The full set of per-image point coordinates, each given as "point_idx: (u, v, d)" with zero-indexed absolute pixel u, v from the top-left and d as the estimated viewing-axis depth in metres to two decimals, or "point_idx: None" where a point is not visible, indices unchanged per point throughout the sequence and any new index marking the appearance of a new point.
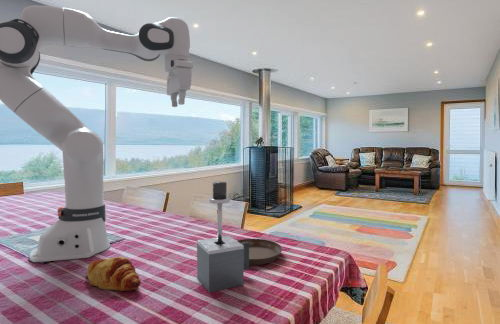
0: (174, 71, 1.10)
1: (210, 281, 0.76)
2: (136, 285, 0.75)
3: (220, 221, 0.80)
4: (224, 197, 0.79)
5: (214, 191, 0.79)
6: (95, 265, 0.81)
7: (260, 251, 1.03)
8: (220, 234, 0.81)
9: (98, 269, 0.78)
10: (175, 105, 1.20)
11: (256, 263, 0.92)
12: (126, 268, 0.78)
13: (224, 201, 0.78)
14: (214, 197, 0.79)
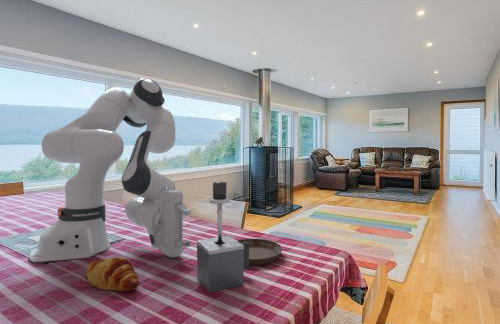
0: None
1: (210, 281, 0.76)
2: (134, 286, 0.75)
3: (220, 221, 0.80)
4: (224, 197, 0.79)
5: (214, 191, 0.79)
6: (94, 265, 0.81)
7: (260, 251, 1.03)
8: (220, 234, 0.81)
9: (97, 269, 0.77)
10: None
11: (256, 263, 0.92)
12: (125, 268, 0.78)
13: (224, 201, 0.78)
14: (214, 197, 0.79)
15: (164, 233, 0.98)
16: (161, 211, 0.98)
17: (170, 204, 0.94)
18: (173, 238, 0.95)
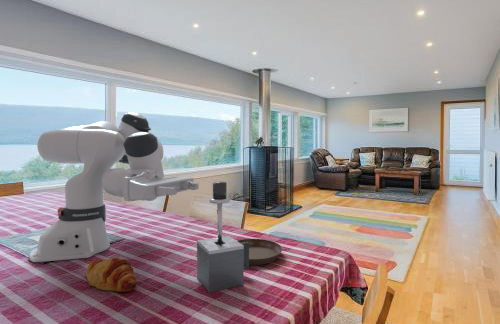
0: None
1: (210, 281, 0.76)
2: (132, 286, 0.74)
3: (220, 221, 0.80)
4: (224, 197, 0.79)
5: (214, 191, 0.79)
6: (94, 265, 0.81)
7: (260, 251, 1.03)
8: (220, 234, 0.81)
9: (96, 269, 0.77)
10: (194, 186, 0.90)
11: (256, 263, 0.92)
12: (123, 269, 0.78)
13: (224, 201, 0.78)
14: (214, 197, 0.79)
15: (150, 182, 0.87)
16: (164, 178, 0.93)
17: (183, 178, 0.94)
18: (162, 183, 0.85)
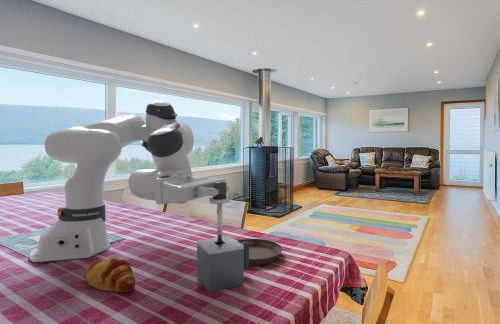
0: None
1: (210, 281, 0.76)
2: (130, 287, 0.74)
3: (220, 221, 0.80)
4: (224, 197, 0.79)
5: None
6: (93, 265, 0.81)
7: (260, 251, 1.03)
8: (220, 234, 0.81)
9: (94, 270, 0.77)
10: None
11: (256, 263, 0.92)
12: (122, 269, 0.78)
13: (224, 201, 0.78)
14: (214, 197, 0.79)
15: (183, 183, 0.81)
16: (195, 179, 0.87)
17: (216, 179, 0.88)
18: (197, 184, 0.79)
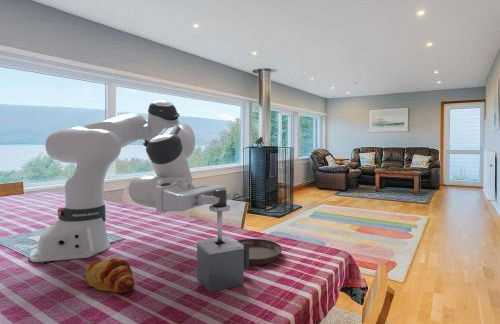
0: None
1: (210, 281, 0.76)
2: (129, 287, 0.74)
3: (220, 229, 0.80)
4: (224, 205, 0.79)
5: None
6: (93, 265, 0.81)
7: (260, 251, 1.03)
8: (220, 242, 0.81)
9: (94, 270, 0.77)
10: None
11: (256, 263, 0.92)
12: (121, 270, 0.78)
13: (224, 209, 0.78)
14: (214, 205, 0.79)
15: (183, 191, 0.81)
16: (196, 186, 0.88)
17: (216, 186, 0.88)
18: (197, 192, 0.79)
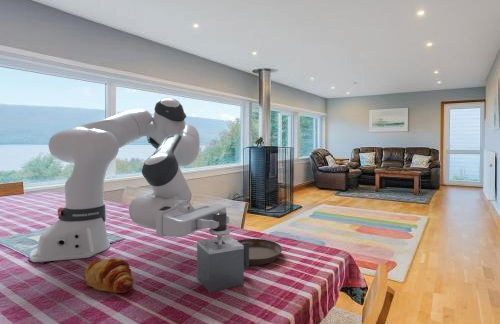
0: None
1: (210, 281, 0.76)
2: (127, 288, 0.74)
3: None
4: (224, 228, 0.80)
5: None
6: (92, 265, 0.81)
7: (260, 251, 1.03)
8: None
9: (93, 270, 0.77)
10: None
11: (256, 263, 0.92)
12: (120, 270, 0.77)
13: (224, 233, 0.79)
14: None
15: (183, 215, 0.82)
16: (195, 208, 0.88)
17: (216, 208, 0.89)
18: (197, 216, 0.79)
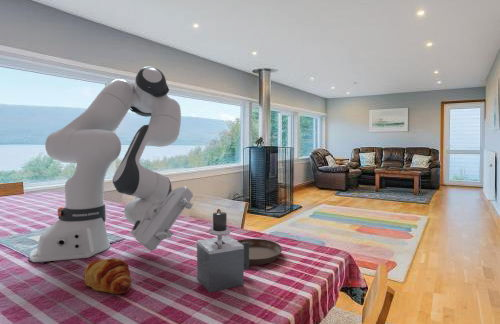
0: None
1: (210, 281, 0.76)
2: (125, 289, 0.73)
3: None
4: (224, 228, 0.80)
5: (214, 222, 0.80)
6: (91, 265, 0.81)
7: (260, 251, 1.03)
8: None
9: (91, 270, 0.77)
10: (187, 207, 0.90)
11: (256, 263, 0.92)
12: (118, 270, 0.77)
13: (224, 233, 0.79)
14: (214, 228, 0.80)
15: (152, 222, 0.92)
16: (163, 203, 0.96)
17: (177, 196, 0.94)
18: (158, 225, 0.89)
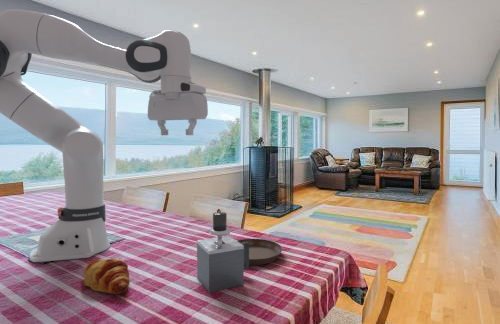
0: (185, 96, 0.91)
1: (210, 281, 0.76)
2: (122, 289, 0.73)
3: None
4: (224, 228, 0.80)
5: (214, 222, 0.80)
6: (90, 265, 0.81)
7: (260, 251, 1.03)
8: None
9: (90, 270, 0.77)
10: (166, 133, 0.98)
11: (256, 263, 0.92)
12: (116, 271, 0.77)
13: (224, 233, 0.79)
14: (214, 228, 0.80)
15: None
16: None
17: None
18: None
